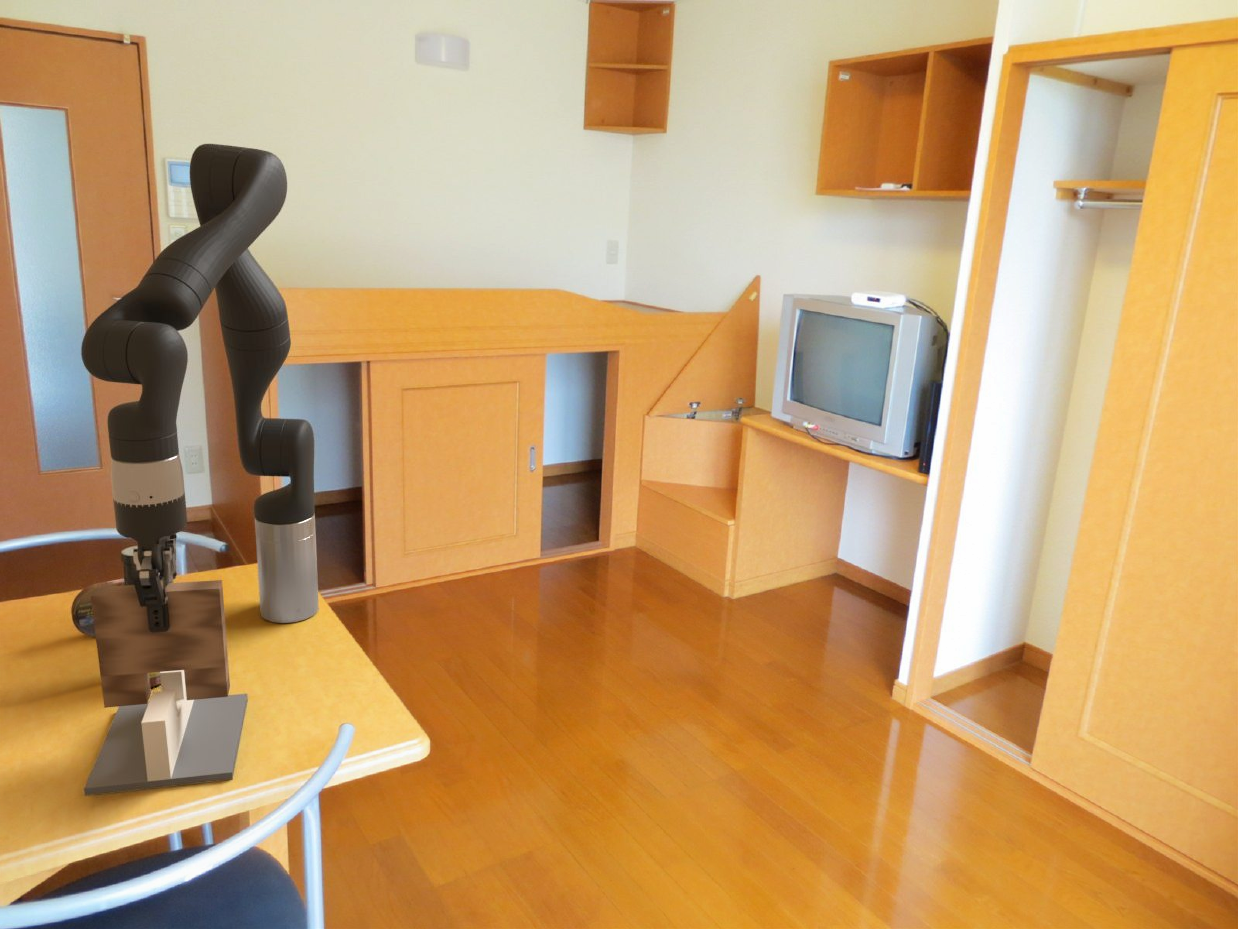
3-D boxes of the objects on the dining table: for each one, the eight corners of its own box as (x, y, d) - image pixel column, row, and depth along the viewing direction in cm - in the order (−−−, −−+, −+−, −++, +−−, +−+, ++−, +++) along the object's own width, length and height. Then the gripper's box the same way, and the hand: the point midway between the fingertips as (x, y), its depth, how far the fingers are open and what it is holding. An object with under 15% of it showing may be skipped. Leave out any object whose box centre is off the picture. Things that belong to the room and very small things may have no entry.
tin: (75, 643, 139) (69, 593, 136) (72, 635, 141) (66, 585, 139) (182, 621, 148) (178, 573, 145) (178, 613, 150) (173, 566, 148)
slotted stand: (120, 711, 123) (113, 651, 120) (247, 699, 127) (243, 642, 124) (84, 796, 106) (75, 729, 104) (232, 779, 111) (227, 714, 108)
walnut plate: (230, 686, 118) (222, 580, 113) (227, 696, 115) (219, 588, 111) (109, 696, 114) (96, 587, 109) (104, 707, 111) (90, 596, 107)
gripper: (173, 510, 101) (186, 650, 106) (193, 472, 114) (203, 598, 119) (98, 513, 99) (114, 655, 104) (126, 474, 112) (140, 602, 117)
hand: (162, 624), depth 112 cm, fingers closed on walnut plate, 2 cm apart
